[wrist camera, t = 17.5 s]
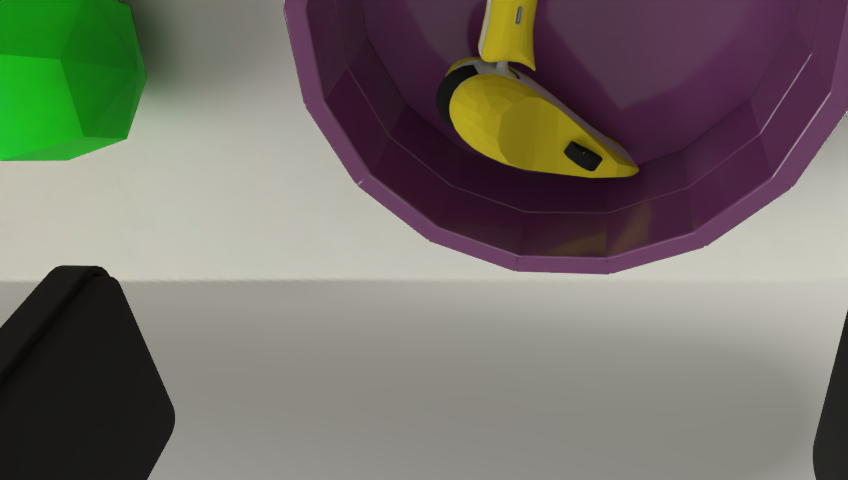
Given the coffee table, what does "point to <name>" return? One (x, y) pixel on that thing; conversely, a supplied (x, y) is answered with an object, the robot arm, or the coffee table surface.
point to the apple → (66, 77)
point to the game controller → (521, 105)
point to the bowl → (593, 102)
